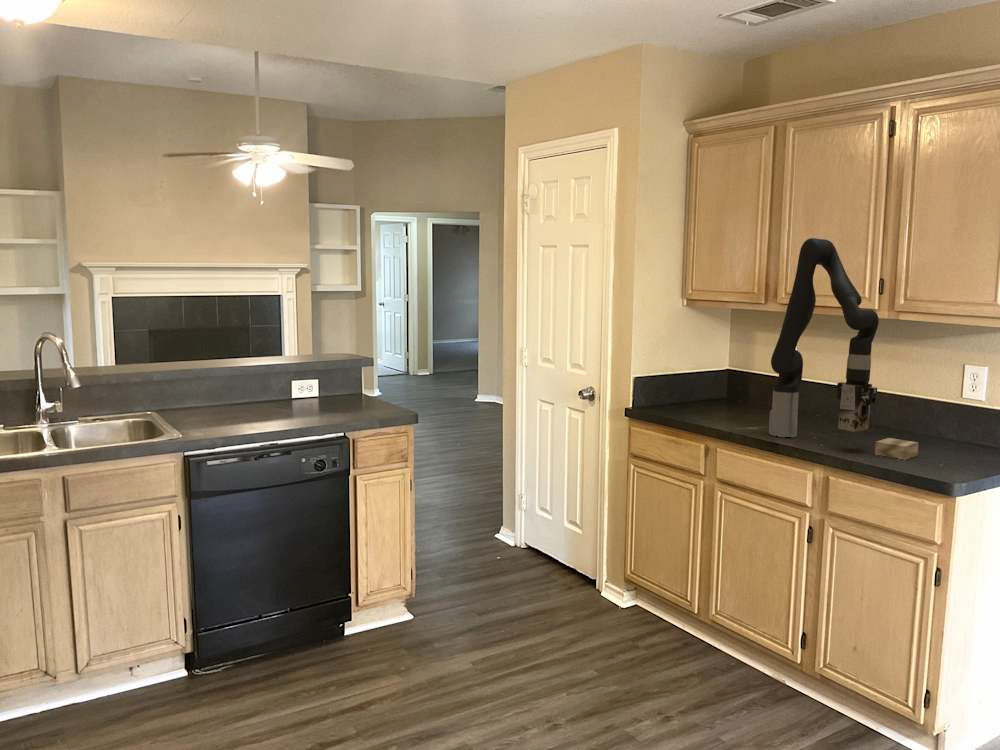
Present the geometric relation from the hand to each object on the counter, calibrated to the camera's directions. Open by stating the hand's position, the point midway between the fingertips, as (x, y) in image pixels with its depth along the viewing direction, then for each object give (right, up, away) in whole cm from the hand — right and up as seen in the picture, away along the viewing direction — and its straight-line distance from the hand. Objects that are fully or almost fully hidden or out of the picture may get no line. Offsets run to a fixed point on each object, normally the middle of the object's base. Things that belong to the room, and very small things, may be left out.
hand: (854, 414), depth 273 cm
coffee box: (0, -5, +1) cm, 6 cm away
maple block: (+12, -14, -5) cm, 19 cm away
